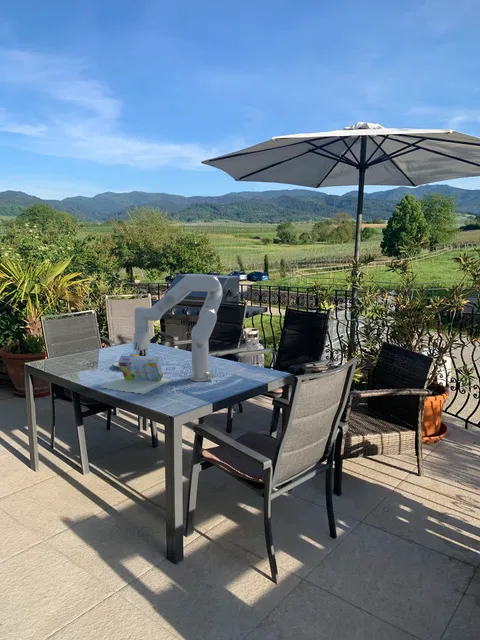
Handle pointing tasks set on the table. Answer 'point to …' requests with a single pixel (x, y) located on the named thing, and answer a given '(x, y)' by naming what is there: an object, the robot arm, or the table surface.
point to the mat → (135, 385)
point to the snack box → (141, 368)
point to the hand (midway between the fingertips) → (142, 361)
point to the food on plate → (118, 362)
